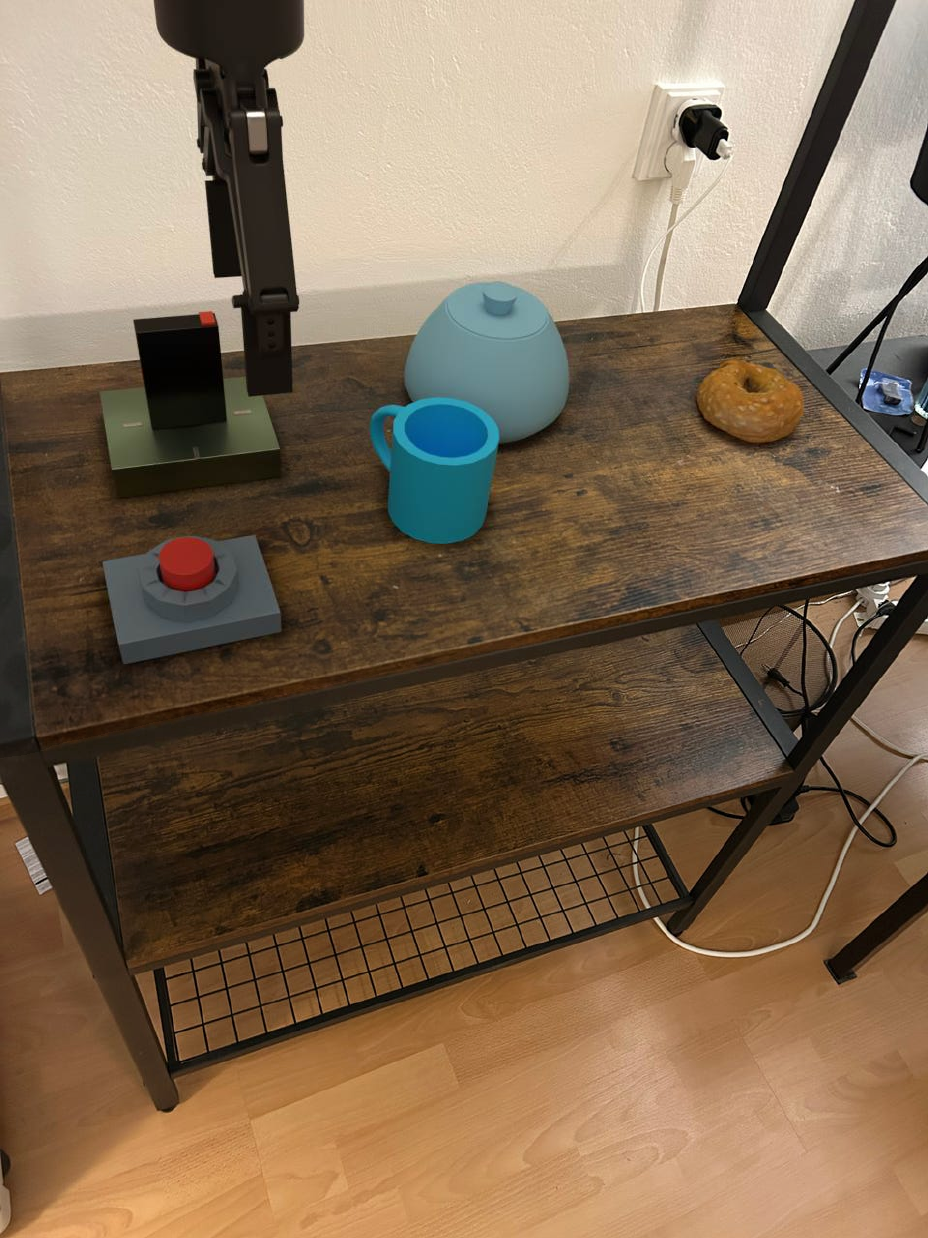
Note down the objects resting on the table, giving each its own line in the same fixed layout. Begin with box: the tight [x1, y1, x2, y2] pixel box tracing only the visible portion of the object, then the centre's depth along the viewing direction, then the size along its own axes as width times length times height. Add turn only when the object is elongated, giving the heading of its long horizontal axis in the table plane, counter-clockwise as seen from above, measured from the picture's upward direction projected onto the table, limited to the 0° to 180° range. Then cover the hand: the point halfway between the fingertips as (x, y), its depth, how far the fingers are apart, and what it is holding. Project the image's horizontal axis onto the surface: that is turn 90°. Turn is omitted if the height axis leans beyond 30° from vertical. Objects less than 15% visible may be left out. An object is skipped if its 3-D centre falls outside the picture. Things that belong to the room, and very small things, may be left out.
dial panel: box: [98, 376, 282, 499], centre depth 80 cm, size 13×10×3 cm
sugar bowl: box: [403, 280, 570, 445], centre depth 86 cm, size 15×15×12 cm
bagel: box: [696, 358, 805, 444], centre depth 92 cm, size 10×11×5 cm
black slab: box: [132, 310, 227, 430], centre depth 76 cm, size 6×2×9 cm, turn 109°
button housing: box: [101, 534, 283, 665], centre depth 69 cm, size 11×8×4 cm
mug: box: [369, 397, 499, 545], centre depth 78 cm, size 12×8×8 cm
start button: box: [159, 536, 215, 592], centre depth 67 cm, size 4×4×2 cm
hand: (250, 329), depth 64 cm, fingers open, 13 cm apart
